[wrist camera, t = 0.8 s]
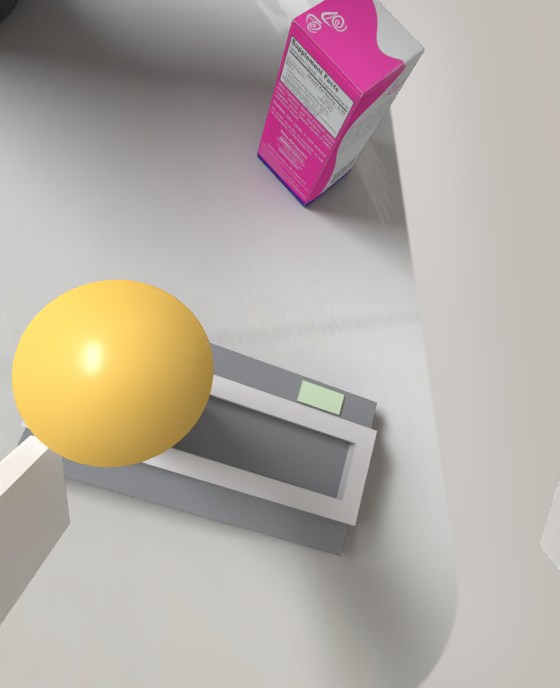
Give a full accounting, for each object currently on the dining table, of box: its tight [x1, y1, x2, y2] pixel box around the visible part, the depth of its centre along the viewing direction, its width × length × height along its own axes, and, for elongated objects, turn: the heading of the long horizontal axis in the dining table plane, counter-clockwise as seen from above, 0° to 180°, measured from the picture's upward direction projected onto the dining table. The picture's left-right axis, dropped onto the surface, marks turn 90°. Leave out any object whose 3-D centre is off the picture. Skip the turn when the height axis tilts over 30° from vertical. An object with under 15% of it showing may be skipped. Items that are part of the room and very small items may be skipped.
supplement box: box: [257, 0, 424, 207], centre depth 28 cm, size 6×6×12 cm
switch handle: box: [12, 280, 214, 467], centre depth 17 cm, size 4×4×16 cm
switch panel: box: [17, 343, 377, 556], centre depth 26 cm, size 20×10×3 cm, turn 72°
